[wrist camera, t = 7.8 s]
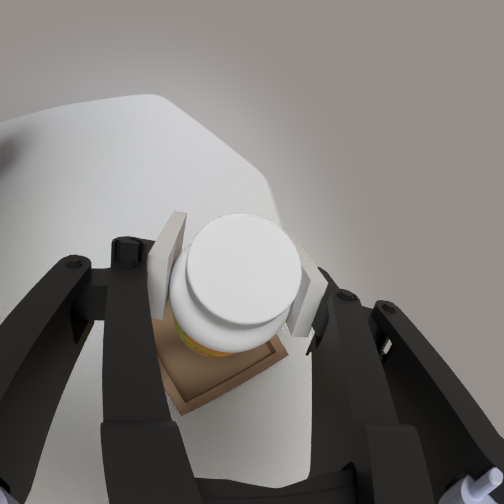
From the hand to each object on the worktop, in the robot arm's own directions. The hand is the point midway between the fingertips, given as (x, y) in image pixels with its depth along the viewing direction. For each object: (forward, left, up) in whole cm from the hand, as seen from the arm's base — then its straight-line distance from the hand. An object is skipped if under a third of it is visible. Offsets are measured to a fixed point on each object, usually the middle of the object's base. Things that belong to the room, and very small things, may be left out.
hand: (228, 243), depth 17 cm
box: (+3, -2, -17) cm, 17 cm away
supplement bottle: (+3, -2, -3) cm, 5 cm away
